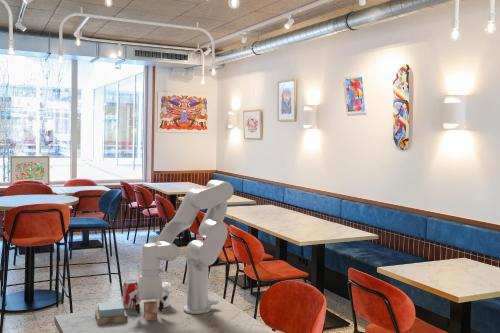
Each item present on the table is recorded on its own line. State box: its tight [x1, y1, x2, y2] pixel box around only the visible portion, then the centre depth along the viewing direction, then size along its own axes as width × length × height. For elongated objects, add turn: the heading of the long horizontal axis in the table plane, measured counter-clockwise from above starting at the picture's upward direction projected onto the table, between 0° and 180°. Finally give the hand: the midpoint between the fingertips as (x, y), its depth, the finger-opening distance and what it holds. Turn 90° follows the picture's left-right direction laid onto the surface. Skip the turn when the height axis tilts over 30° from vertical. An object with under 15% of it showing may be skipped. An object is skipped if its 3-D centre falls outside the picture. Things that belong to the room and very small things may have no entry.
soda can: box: [122, 279, 138, 310], centre depth 238 cm, size 7×7×12 cm
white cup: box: [153, 281, 172, 309], centre depth 241 cm, size 8×8×10 cm
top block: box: [97, 300, 125, 318], centre depth 223 cm, size 10×10×3 cm
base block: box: [94, 308, 128, 325], centre depth 223 cm, size 12×12×3 cm
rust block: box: [143, 299, 159, 321], centre depth 224 cm, size 5×5×7 cm
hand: (149, 311), depth 224 cm, fingers open, 9 cm apart
